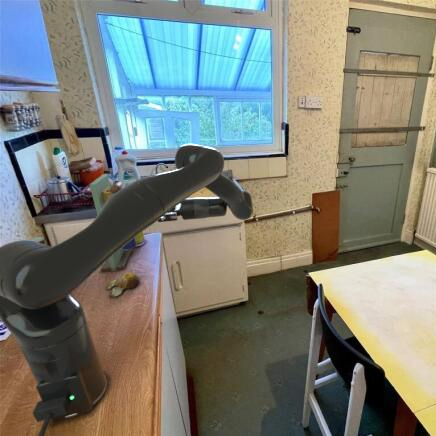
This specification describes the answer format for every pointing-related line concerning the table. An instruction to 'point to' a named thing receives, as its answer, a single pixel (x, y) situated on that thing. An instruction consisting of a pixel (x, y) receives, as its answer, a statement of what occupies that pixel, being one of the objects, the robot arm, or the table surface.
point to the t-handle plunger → (115, 189)
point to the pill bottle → (140, 239)
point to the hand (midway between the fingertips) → (146, 211)
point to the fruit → (124, 283)
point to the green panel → (100, 196)
